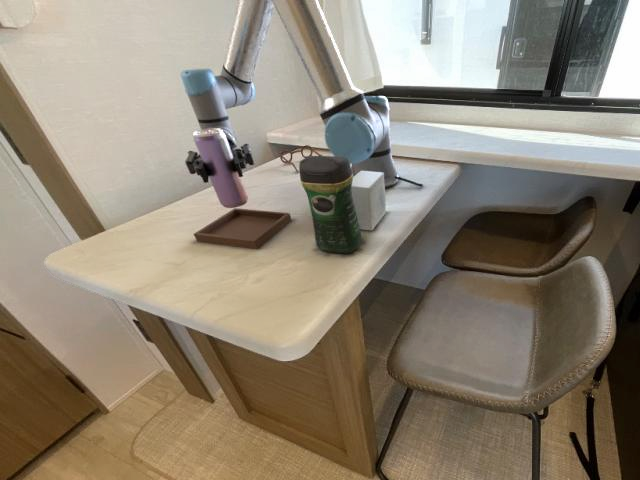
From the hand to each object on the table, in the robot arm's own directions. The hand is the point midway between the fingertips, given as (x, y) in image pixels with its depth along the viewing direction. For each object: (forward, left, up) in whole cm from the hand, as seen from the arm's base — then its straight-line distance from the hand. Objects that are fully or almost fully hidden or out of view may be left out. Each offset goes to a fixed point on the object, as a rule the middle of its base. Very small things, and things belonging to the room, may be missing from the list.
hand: (221, 172), depth 64 cm
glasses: (+15, -55, -15) cm, 59 cm away
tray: (+3, -4, -15) cm, 16 cm away
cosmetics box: (-25, -15, -15) cm, 33 cm away
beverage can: (+3, -4, -8) cm, 10 cm away
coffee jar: (-23, -2, -15) cm, 28 cm away
